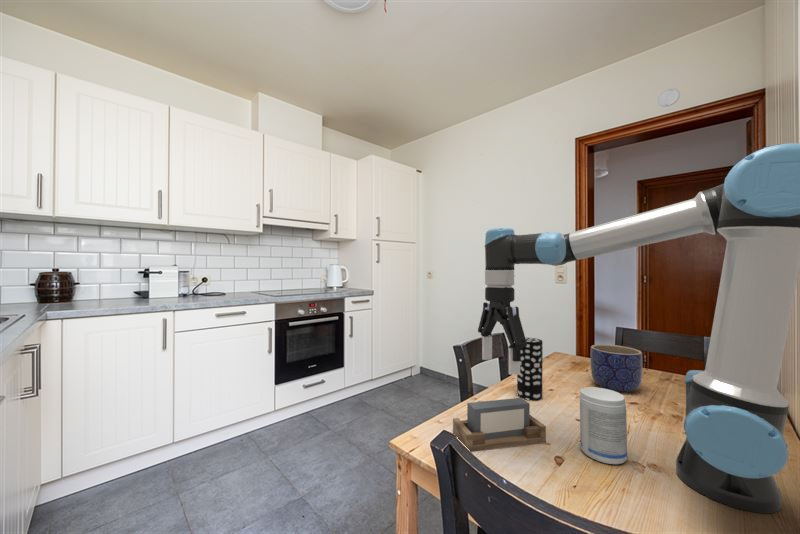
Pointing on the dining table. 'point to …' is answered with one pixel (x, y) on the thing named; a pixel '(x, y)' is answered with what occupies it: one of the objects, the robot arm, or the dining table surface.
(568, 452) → the dining table surface
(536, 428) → the tray
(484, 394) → the dining table surface
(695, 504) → the dining table surface
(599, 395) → the supplement tub
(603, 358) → the planter
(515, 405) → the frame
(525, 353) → the spotted tube
